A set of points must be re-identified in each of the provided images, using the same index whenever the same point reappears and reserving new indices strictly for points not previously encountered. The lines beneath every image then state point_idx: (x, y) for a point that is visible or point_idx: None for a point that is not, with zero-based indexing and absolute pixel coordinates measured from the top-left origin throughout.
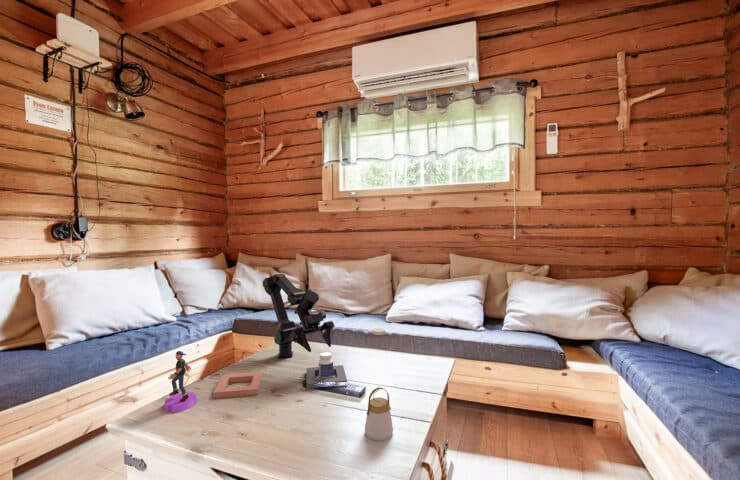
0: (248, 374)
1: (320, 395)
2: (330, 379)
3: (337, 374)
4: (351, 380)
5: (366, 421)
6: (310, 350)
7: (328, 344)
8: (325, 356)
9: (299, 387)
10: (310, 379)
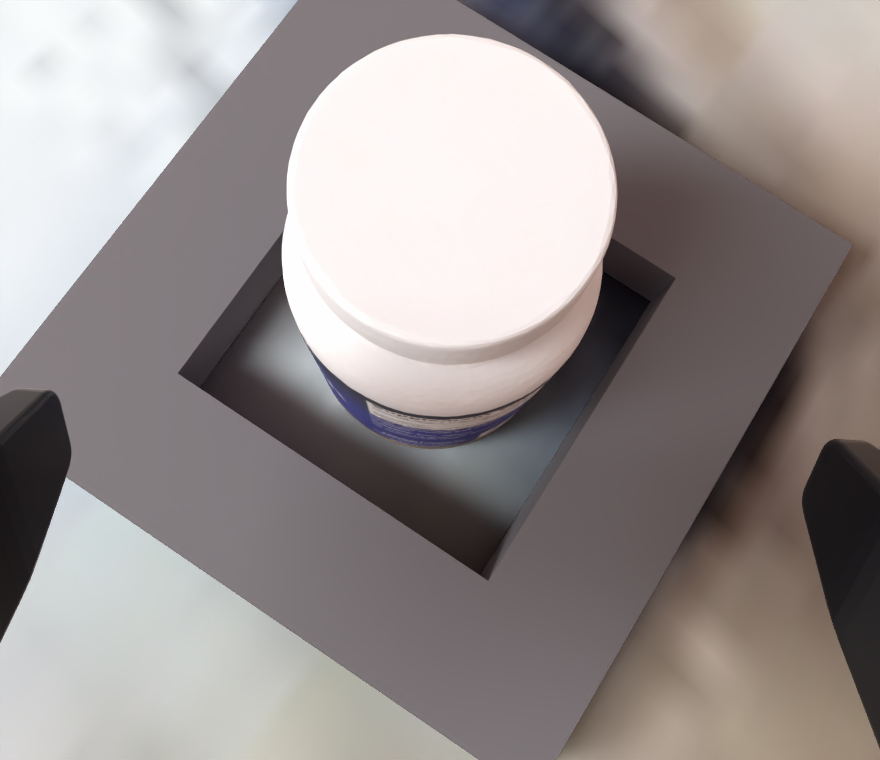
0: None
1: (756, 25)
2: None
3: None
4: (197, 63)
5: None
6: (863, 447)
7: (27, 503)
8: (555, 71)
9: (859, 382)
10: (734, 324)
